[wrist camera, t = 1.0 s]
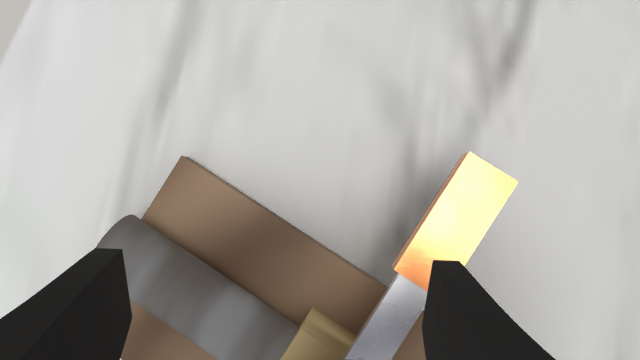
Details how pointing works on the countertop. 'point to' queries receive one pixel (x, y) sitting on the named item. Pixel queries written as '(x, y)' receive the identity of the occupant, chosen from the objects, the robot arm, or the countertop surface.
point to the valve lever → (433, 252)
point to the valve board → (237, 281)
